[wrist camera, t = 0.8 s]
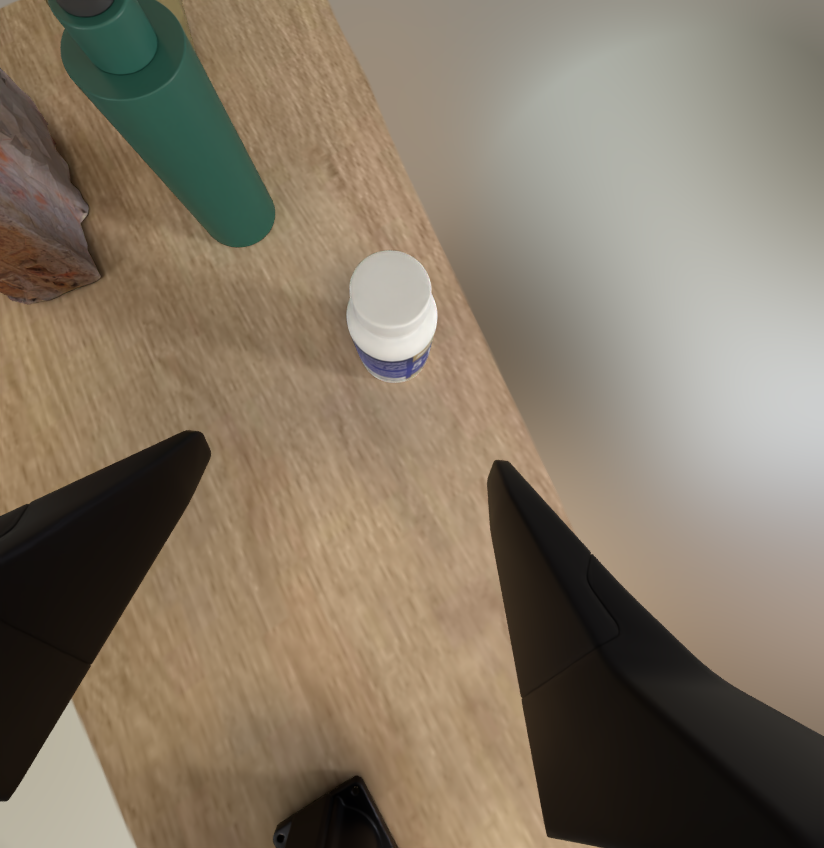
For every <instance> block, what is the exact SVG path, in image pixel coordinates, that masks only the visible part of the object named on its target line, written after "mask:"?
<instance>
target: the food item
mask: <svg viewBox="0 0 824 848" xmlns="http://www.w3.org/2000/svg"><path fill="white" fill-rule="evenodd" d="M47 125H48V123H47V122H46V120H45V119H44V117H43V115H42V114H41V113H40V112H39V110H38V108H37V106H36V104H35V103H34V101H33V100H32V99H31V97H30V96H28V95H27V94H26V93H25V92H23V91H22V90H21V89H20V88H19V87H18V86H17V85H16V83H15V82H14V81H13V80H12V79H11V78H10V77H9V76H8V75H7V74H6V73H5V72H4V71H3V70H2V69H1V68H0V292H1V293H3V294H5V295H7V296H8V297H9V299H10V300H12V301H16V302H20V303H24V304H32V303H37V302H39V301H42V300H43V301H48V300H51V299H54V298H56V297H58V296H59V295H61V294H63V293H66V292H68V291H71V290H73V289H76V288H78V287H81V286H83V285H87V284H91V283H93V282H95V281H97V280H98V279H99V278H100V277H101V276H100V274H99V272H98V270H97V268H96V266H95V263H94V261H93V259H92V258H91V256H90V254H89V252H88V250H87V248H88V246H87V242H86V239H85V236H84V233H83V230H82V227H81V224H80V223H81V222H82V221H83V219H84V218H85V217H86V216H87V214H88V209H89V207H88V204H87V203H86V202H85V201H84V200H83V198H82V196H81V194H80V191H79V190H78V189H77V188H76V187H75V186H74V185H72V184H71V182H70V173H69V167H68V164H67V163H66V162H65V160H64V159H63V158H62V157H61V155H60V154H59V153H58V152H57V151H56V149H55V147H56V143H55V141H54V140H53V138H52V137H51V135H50V133H49V130H48V127H47ZM22 301H23V302H22Z"/></svg>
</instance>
